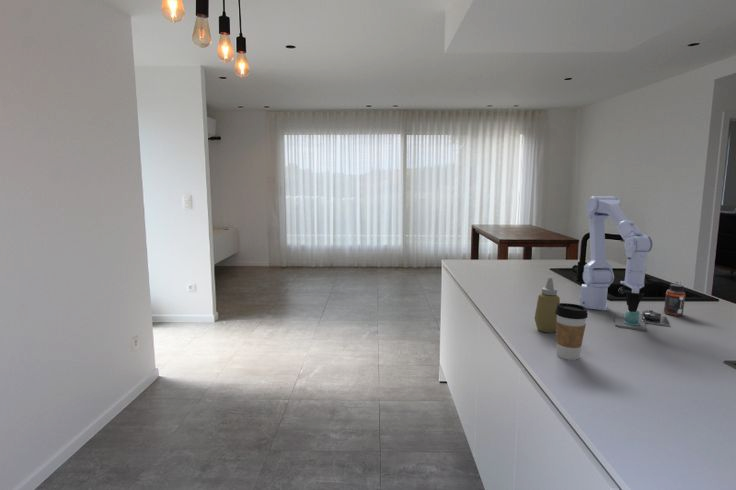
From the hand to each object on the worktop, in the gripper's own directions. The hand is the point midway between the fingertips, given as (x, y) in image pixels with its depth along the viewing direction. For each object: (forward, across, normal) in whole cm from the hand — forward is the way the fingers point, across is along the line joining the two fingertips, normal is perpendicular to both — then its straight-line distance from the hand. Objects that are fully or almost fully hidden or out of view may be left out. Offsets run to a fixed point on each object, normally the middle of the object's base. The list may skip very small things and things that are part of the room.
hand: (631, 308), depth 150 cm
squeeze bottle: (+6, +20, -25) cm, 33 cm away
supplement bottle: (+6, -22, +16) cm, 28 cm away
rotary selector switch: (+6, -10, +7) cm, 14 cm away
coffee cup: (+6, +40, -18) cm, 44 cm away
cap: (+5, 0, 0) cm, 5 cm away
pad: (+6, 0, 0) cm, 6 cm away
